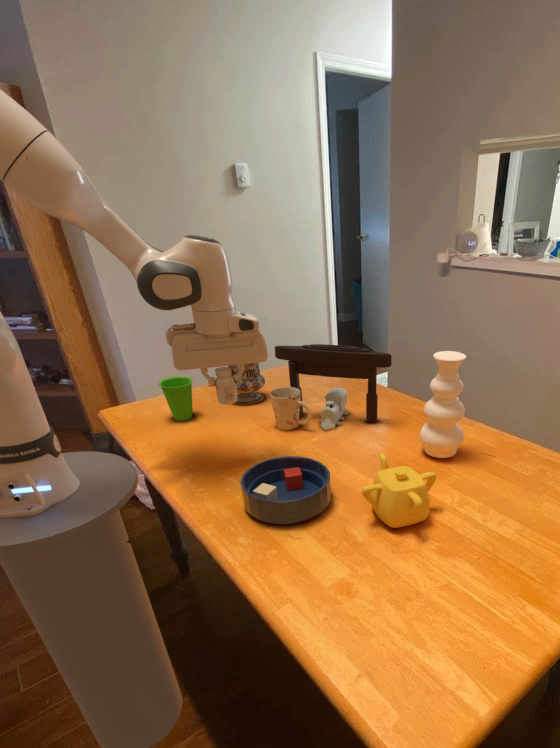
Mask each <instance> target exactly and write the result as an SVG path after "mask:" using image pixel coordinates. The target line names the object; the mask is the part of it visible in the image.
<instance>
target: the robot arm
mask: <svg viewBox="0 0 560 748" xmlns="http://www.w3.org/2000/svg"><path fill="white" fill-rule="evenodd" d="M0 180H1V182H3V183H4V184H5V185H6V186H7V187H8V188H10V189H11V190H12V191H13V192H14V193H16V194H17V195H19V196H20V197H21V198H23V199H24V200H25V201H27V203H30V204H31V205H32V206H34V207H35V208H37V209H39V210H40V211H41V212H42V213H44V214H46V215H48V216H50V217H52V218H55V219H57V220H60V221H63V222H66V223H68V224H71V225H72V226H75V227H77V228H78V229H80V230H82V231H84V232H85V233H87V234H88V235H90V236H91V237H92V238H94V239H95V240H96V241H97V242H98V243H99V244H100V245H101V246H103V247H104V248H105V249H106V250H107V251H109V252H110V253H111V254H112V255H113V256H114V257H115V258H116V259H118V260H119V261H120V262H121V263H122V264H123V265H124V266H125V267H126V268H127V269H128V270H129V271H130V273H131V274H132V276H133V278H134V279H135V282H136V287H137V290H138V292H139V294H140V296H141V297H142V299H143V300H144V302H146V303H147V304H148V305H150V306H151V307H152V308H154V309H157V310H160V311H174V310H178V309H181V308H185V307H188V306H190V308H191V313H192V318H193V322H192V323H191V322H190V323H184V324H172V325H171V326H170V327H168V328H167V329H166V331H165V338H166V342H167V344H168V345H169V347H171V355H172V362H173V367H174V368H175V369H176V370H177V371H187V370H188V371H191V370H197V369H198V370H200V373H201V374H202V376H203V377H204V378H205V379H206V380H207V384H208V387H209V388H212V387H213V388H214V387H216V384H215V379H216V378H215V376H210V374H209V373H208V372H209V369H208V368H219V367H228V366H230V365H237V366H238V368H239V370H238V373H237V374H235V375H234V379H235V384H240V383H242V380H241V376H242V374H243V372H244V370H245V365H244V364H250V363H259V364H260V363H265V362H267V360H268V358H269V353H268V347H267V343H266V342H267V341H266V339H265V336H264V334H263V333H262V332H261V330H260V323H259V320H258V318H257V317H256V316H255V315H253V314H252V313H251V314H250V313H246V312H242V311H238V310H236V303H235V301H234V299H233V293H232V292H233V291H232V290H233V279H232V274H231V272H232V271H231V266H230V261H229V257H228V254H227V250H226V249H225V247H224V245H223V244H222V243H221V242H220V241H218V240H217V239H214V238H211V237H210V238H209V237H206V236H201V235H193V234H187V235H185V236H183V237H182V239H180V240H179V241H178V242H177V243H176V244H174V245H173V246H171V247H170V248H168V249H167V250H165V251H164V250H161V249H159V248H157V247H154V246H152V245H150V244H149V243H148V242H147V241H145V240H144V239H143V238H142V237H141V236H140V235H139V234H138V233H137V232H135V230H133V228H131V226H129V225H128V224H127V223H126V222H125V221H124V220H123V219H122V218H121V216H119V215H117V214H116V212H115V211H113V210H112V208H111V207H110V206H109V204H108V203H107V202H106V201H105V199H104V198H103V197H102V195H101V194H100V193H99V191H98V190H97V189H96V188H97V187H95V185H94V184H93V182H92V181H91V179H90V177H89V176H88V175H87V173H86V172H85V170H84V169H83V168H82V167H81V165H80V164H79V163H78V162H77V159H75V157H73V155H72V154H71V153H70V152H69V150H68V149H67V148H66V147H65V146H64V145H63V144H62V142H60V140H58V139H57V138H56V136H54V134H52V132H51V131H49V129H47V127H46V126H44V125H43V124H42V123H41V122H40V121H39V120H38V119H37V118H36V117H35V116H33V115H32V114H31V113H30V112H29V111H28V110H27V109H25V108H24V106H22V105H21V104H19V102H17V101H16V100H15V99H14V98H12V97H11V96H10V95H9V94H7V93H6V92H5V91H4V90H2V88H0ZM61 453H62V448H61V444H60V441H59V439H58V436H57V434H56V433H55V431H54V428H53V427H52V426H51V425H50V424H49V422H48V419H47V416H46V413H45V411H44V409H43V406H42V403H41V400H40V398H39V395H38V393H37V391H36V388H35V386H34V383H33V380H32V377H31V374H30V372H29V370H28V367H27V364H26V362H25V359H24V356H23V354H22V350H21V348H20V346H19V342H18V340H17V339H16V337H15V334H14V333H13V331H12V329H11V326H10V325H9V323H8V321H7V319H6V318H5V316H4V315H3V314H2V312H1V311H0V518H7V517H18V516H29V515H37V514H39V513H41V512H43V511H44V510H46V509H47V508H49V507H50V506H52V505H54V504H56V503H58V502H60V501H62V500H64V499H66V498H68V497H69V496H71V495H72V494H73V493H75V492H76V491H77V489H78V488H79V486H80V481H79V479H78V478H77V477H76V476H75V475H74V473H73V472H72V470H71V469H70V468H69V466H68V464H67V463H66V461H65V459H64V458H63V456H62V454H61Z"/></svg>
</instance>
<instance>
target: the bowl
mask: <svg viewBox="0 0 560 748" xmlns="http://www.w3.org/2000/svg"><path fill="white" fill-rule="evenodd" d="M296 467H299V468H300V470H301V473H302V479H303V488H302V489H296V490H290V491H287V488H286V485H285V479H284V469H290V468H296ZM239 483H240V490H241V494H242V500H243V505H244V509H245V511H246V512H247V513H248V514H249V516H251V517H252V518H254V519H256V520H258V521H260V522H264V523H267V524H272V525H294V524H299V523H303V522H306V521H308V520H311V519H313V518H315V517H316V516H318V515H321V514H322V512H324V510H326V509H327V508H328V506H329V505H330V503H331V500H332V488H331V487H332V486H331V485H332V484H331V472H330V470H329V468H328V467H327V466H326V465H325V464H324V463H322V462H321V461H319V460H317V459H314V458H311V457H307V456H300V455H298V456H297V455H285V456H284V455H283V456H276V457H272V458H268V459H264V460H262V461H259V462H258V463H255V464H253V465H252V466H250V467H249V468H247V469H246V471H245V472H243V474H242V475H241V479H240V482H239ZM262 483H265V484H268V485H272V486H276V487H277V494H278V500H268V499H263V498H259V497H257V496H255V495H253V491H254V490H255V489H256V488H257V487H258V486H260V485H261V484H262Z"/></svg>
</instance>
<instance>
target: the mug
mask: <svg viewBox="0 0 560 748" xmlns="http://www.w3.org/2000/svg"><path fill="white" fill-rule="evenodd" d="M269 399H270V402H271V403H270V404H271V406H272V410H273V411H272V412H273V415H274V418H275V423H276V426H277V428H278V429H280V430H283V431H289V430H295V429H296V428H298V427H299V426H300V425H303V426H304V425H306V424H308V423H310V422H311V420H312V418H313V413H312V410H311V407H310V406H309V405H308V404H307V402H305V401H303V400H302V401H300V390H299V389H297V388H294V387H290V386H281V387H276V388H273V389H271V390H270V391H269ZM300 406H303V409H305V411H306V412H307V416H306V418H305V419H304V420H300V418H299V412H300Z"/></svg>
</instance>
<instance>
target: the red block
mask: <svg viewBox="0 0 560 748" xmlns="http://www.w3.org/2000/svg"><path fill="white" fill-rule="evenodd" d="M284 479H285V485H286V488H287V491H290V490H296V489H302V488H303V479H302V473H301V470H300V468H299V467H296V468H290V469H284Z"/></svg>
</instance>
